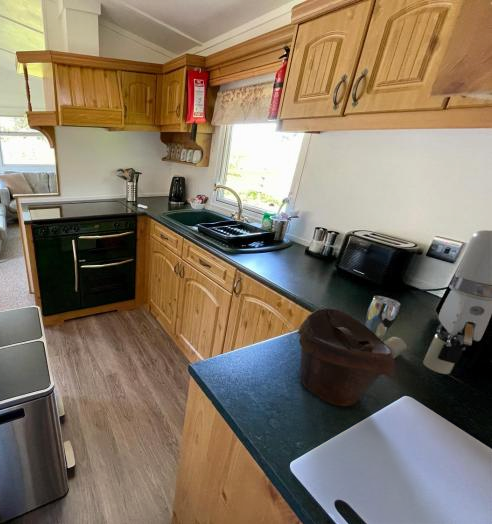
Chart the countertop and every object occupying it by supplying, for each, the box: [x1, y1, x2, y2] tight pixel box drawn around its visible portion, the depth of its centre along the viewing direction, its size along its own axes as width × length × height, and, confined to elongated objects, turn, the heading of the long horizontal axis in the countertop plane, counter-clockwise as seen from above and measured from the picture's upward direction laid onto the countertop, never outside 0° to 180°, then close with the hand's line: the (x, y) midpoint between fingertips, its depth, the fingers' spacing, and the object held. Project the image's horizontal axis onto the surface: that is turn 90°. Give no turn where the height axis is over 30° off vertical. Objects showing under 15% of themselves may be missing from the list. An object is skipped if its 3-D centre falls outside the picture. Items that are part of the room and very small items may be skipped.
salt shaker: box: [383, 336, 408, 360], centre depth 86 cm, size 5×5×9 cm
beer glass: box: [364, 295, 401, 341], centre depth 91 cm, size 7×7×15 cm
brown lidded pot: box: [297, 307, 396, 407], centre depth 69 cm, size 18×20×18 cm
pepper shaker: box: [422, 331, 461, 375], centre depth 70 cm, size 5×5×9 cm
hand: (442, 353), depth 70 cm, fingers closed on pepper shaker, 5 cm apart
